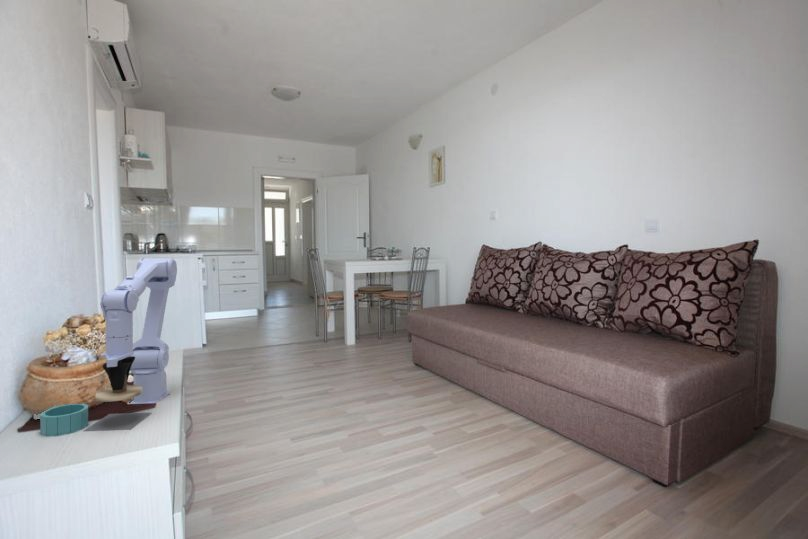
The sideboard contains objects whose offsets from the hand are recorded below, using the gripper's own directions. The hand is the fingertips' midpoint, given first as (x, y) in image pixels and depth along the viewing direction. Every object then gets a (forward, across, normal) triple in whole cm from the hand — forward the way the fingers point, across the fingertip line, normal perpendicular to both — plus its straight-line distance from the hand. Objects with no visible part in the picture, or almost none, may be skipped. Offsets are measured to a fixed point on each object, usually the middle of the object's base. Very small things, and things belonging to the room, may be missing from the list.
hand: (119, 387), depth 104 cm
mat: (+9, 0, 0) cm, 9 cm away
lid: (+2, 0, 0) cm, 2 cm away
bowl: (+9, 0, -11) cm, 15 cm away
